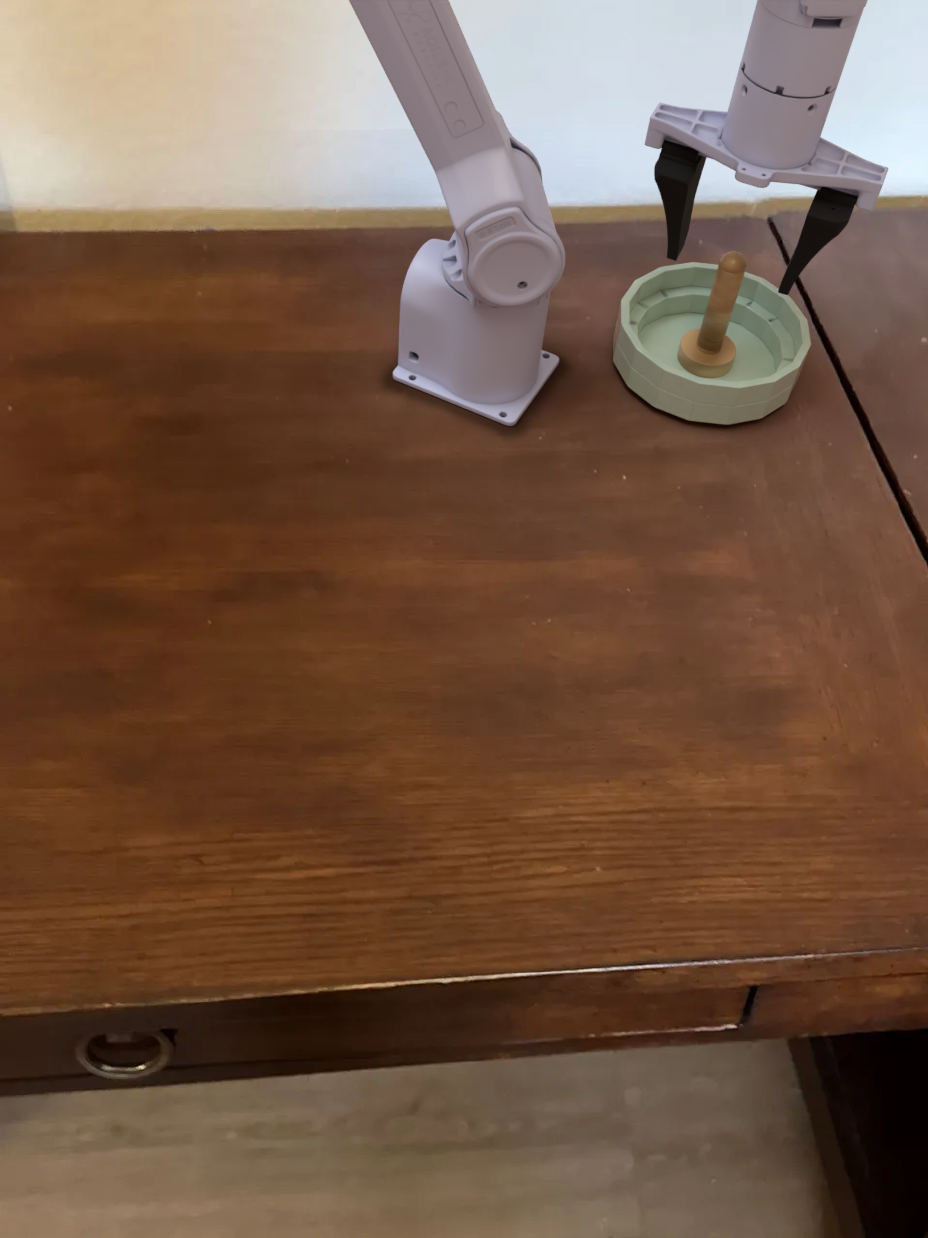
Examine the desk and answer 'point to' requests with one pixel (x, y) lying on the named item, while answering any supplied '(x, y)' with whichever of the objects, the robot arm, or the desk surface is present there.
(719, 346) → the wooden stamp
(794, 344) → the bowl
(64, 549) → the desk surface
